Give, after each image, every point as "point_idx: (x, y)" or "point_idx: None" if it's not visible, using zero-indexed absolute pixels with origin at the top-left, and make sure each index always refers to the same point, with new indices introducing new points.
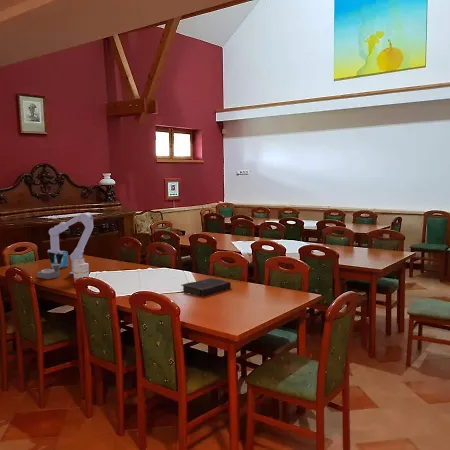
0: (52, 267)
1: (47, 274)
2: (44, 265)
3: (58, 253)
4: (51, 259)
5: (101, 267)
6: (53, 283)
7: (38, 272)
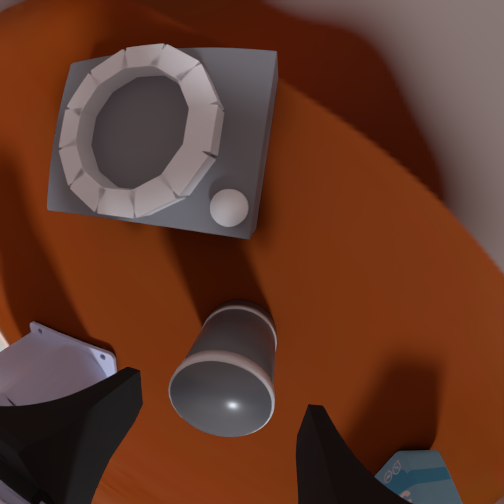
0: (427, 450)
1: (79, 63)
2: (500, 449)
3: (11, 485)
4: (314, 454)
5: (129, 501)
6: (15, 48)
7: (242, 49)
